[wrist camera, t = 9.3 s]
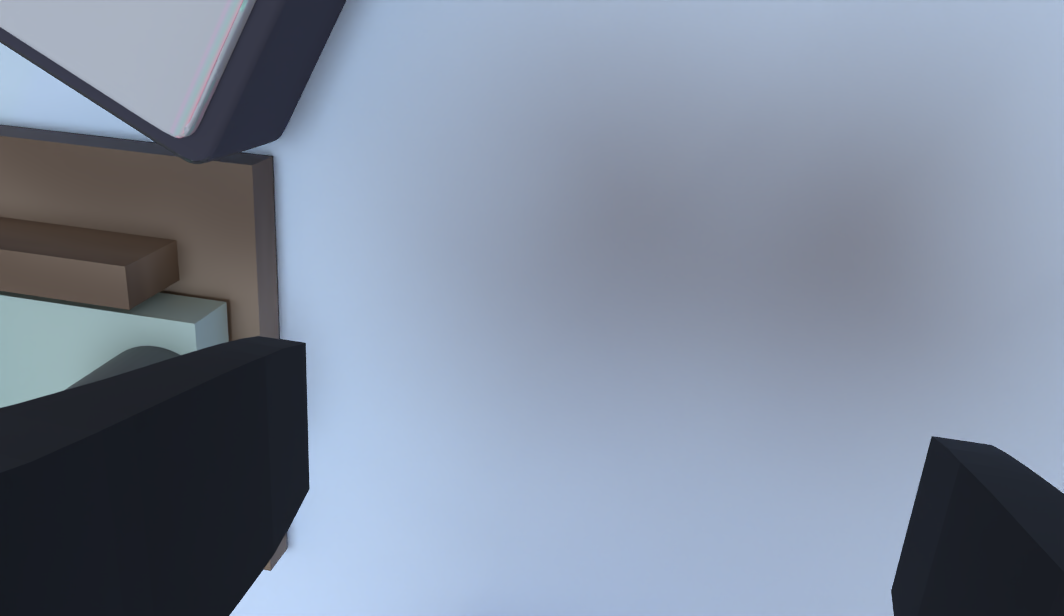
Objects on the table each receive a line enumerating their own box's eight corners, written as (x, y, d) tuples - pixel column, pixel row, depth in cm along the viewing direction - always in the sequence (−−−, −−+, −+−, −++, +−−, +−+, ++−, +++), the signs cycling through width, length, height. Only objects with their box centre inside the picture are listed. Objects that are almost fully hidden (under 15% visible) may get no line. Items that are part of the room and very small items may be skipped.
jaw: (254, 467, 23) (112, 619, 18) (-10, 421, 24) (-216, 551, 19) (246, 305, 21) (87, 419, 16) (-37, 264, 23) (-271, 358, 17)
